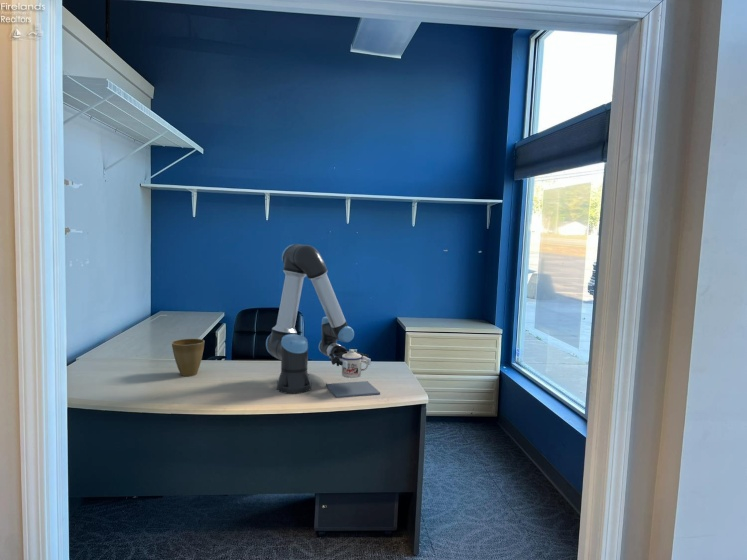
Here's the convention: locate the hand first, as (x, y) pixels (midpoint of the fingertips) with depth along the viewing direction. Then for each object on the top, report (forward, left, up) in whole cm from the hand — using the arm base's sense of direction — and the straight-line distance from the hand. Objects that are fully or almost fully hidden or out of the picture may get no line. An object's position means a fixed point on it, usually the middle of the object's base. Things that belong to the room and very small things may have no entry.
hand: (358, 363), depth 232 cm
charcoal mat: (-1, +4, -13) cm, 14 cm away
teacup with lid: (0, +4, -7) cm, 8 cm away
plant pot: (-71, +46, -13) cm, 86 cm away
